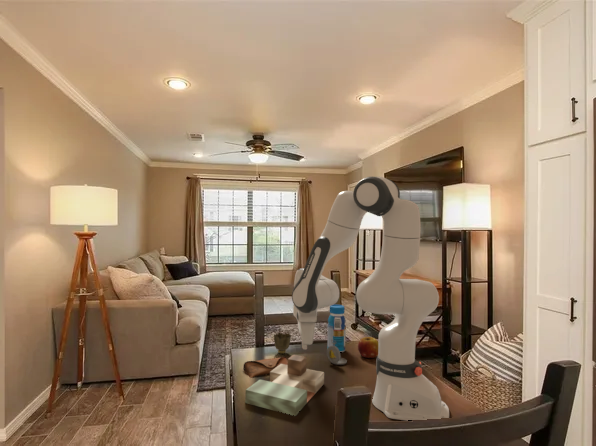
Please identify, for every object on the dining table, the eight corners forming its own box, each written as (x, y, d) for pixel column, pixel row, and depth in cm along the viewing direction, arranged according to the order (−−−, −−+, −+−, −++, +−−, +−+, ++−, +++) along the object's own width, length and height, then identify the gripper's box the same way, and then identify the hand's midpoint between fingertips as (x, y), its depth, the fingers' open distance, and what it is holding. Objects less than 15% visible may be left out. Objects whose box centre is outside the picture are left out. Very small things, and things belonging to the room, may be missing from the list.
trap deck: (323, 383, 121) (324, 372, 121) (295, 416, 99) (295, 402, 99) (280, 374, 128) (281, 363, 128) (245, 402, 106) (245, 389, 106)
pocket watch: (347, 360, 144) (347, 336, 144) (346, 368, 136) (346, 342, 136) (327, 358, 146) (328, 334, 146) (325, 366, 137) (326, 340, 138)
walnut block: (306, 371, 122) (306, 356, 122) (300, 376, 117) (300, 361, 118) (293, 368, 124) (293, 354, 124) (287, 373, 119) (287, 358, 120)
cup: (292, 351, 154) (292, 333, 154) (288, 356, 147) (288, 337, 147) (276, 349, 155) (276, 331, 156) (271, 355, 148) (271, 336, 148)
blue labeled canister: (323, 350, 156) (324, 305, 156) (333, 345, 162) (334, 303, 163) (338, 354, 150) (339, 308, 151) (349, 350, 157) (350, 305, 157)
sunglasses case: (249, 378, 124) (247, 359, 127) (244, 381, 129) (242, 363, 132) (295, 371, 132) (291, 353, 135) (288, 374, 137) (285, 357, 140)
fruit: (353, 356, 149) (353, 337, 149) (364, 351, 156) (364, 333, 156) (373, 362, 143) (373, 342, 143) (383, 356, 150) (384, 338, 150)
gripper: (294, 303, 138) (293, 338, 138) (299, 318, 118) (298, 359, 118) (310, 304, 138) (309, 338, 139) (317, 318, 118) (316, 358, 118)
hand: (304, 348), depth 128 cm, fingers closed
